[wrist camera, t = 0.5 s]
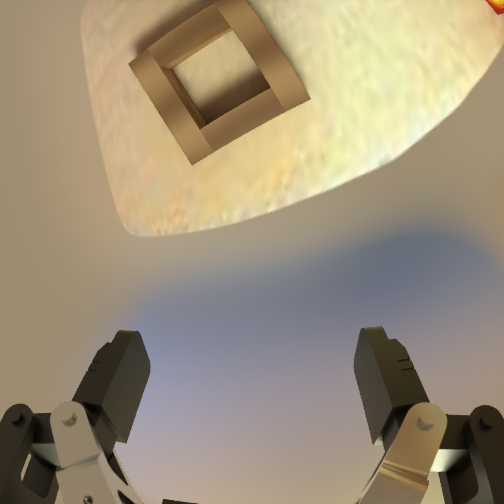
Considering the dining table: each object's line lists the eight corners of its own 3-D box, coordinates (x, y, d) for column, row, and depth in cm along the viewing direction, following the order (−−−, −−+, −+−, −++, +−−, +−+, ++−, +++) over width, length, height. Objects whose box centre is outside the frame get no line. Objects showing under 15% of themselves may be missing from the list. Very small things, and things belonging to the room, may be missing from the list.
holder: (142, 65, 27) (128, 63, 24) (243, -1, 22) (237, -11, 20) (201, 159, 31) (192, 165, 28) (309, 99, 27) (310, 99, 24)
